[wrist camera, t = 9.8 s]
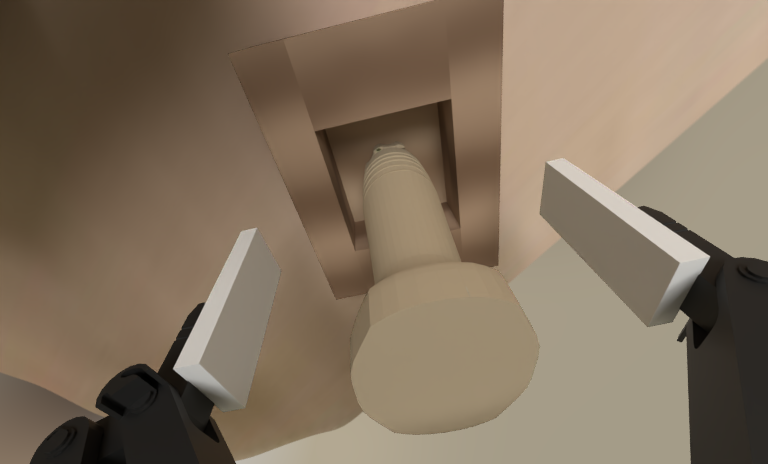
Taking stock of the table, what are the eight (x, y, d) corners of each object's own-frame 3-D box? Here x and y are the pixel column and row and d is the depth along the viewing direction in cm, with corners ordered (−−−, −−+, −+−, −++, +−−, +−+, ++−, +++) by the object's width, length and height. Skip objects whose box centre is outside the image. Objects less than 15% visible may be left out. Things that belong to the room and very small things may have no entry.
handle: (423, 107, 18) (561, 282, 6) (427, 199, 22) (517, 421, 10) (344, 118, 18) (328, 315, 6) (361, 208, 22) (371, 442, 10)
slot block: (252, 46, 16) (227, 53, 13) (472, -10, 16) (503, -17, 13) (338, 263, 26) (336, 299, 22) (479, 233, 25) (498, 265, 22)
